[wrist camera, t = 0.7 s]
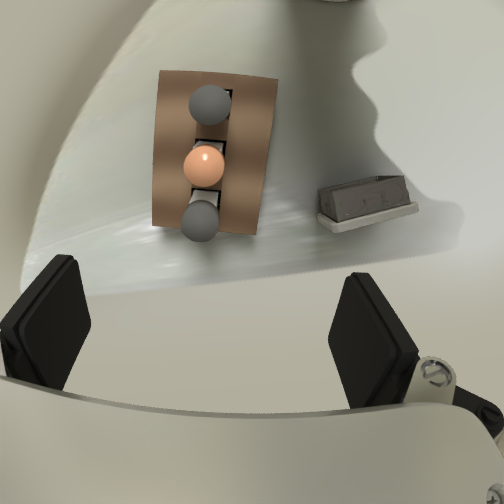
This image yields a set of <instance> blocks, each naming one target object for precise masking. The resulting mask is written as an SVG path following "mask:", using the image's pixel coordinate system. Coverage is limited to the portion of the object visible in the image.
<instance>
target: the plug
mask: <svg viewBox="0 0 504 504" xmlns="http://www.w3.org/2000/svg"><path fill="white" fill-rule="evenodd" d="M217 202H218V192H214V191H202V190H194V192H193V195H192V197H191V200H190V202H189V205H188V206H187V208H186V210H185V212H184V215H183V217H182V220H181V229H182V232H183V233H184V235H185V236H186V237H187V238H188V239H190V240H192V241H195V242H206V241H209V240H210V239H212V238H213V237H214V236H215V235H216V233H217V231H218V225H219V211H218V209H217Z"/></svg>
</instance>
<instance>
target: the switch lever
mask: <svg viewBox="0 0 504 504" xmlns="http://www.w3.org/2000/svg"><path fill="white" fill-rule="evenodd" d="M231 104H232V103H231V98H230V96H229V92H227V91H225V90H224V89H223V88H221V87H219V86H215V85H205V86H202V87H200V88H198V89H197V90H196V91H195V92H194V93H193V94H192V95H191V97H190V100H189V112H190V114H191V116H192V117H193V119H194V120H195V121H197V122H198V123H200V124H203V125H215V124H218V123H220V122H222V121H223V120H225V118H226V117H227V116H228V114H229V112H230V110H231Z"/></svg>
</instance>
